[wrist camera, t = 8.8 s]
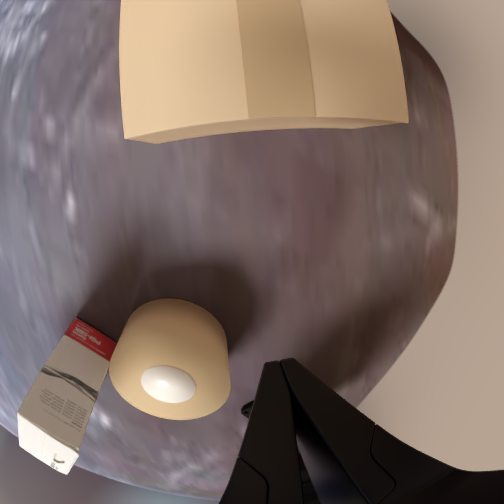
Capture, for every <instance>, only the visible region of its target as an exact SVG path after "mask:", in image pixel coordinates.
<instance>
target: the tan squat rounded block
mask: <svg viewBox="0 0 504 504" xmlns="http://www.w3.org/2000/svg"><path fill="white" fill-rule="evenodd" d="M109 374H110V378H111V381H112V383H113V385H114V387H115V388H116V390H117V391H118V393H119V394H120V395H121V396H122V397H123V398H124V399H125V400H126V401H128V402H129V403H130V404H131V405H133V406H134V407H136V408H138V409H140V410H142V411H144V412H146V413H148V414H151V415H154V416H157V417H161V418H166V419H174V420H188V419H195V418H200V417H203V416H206V415H208V414H211V413H213V412H214V411H216V410H217V409H219V408H220V407H221V406H222V405H223V404H224V403H225V401H226V400H227V398H228V396H229V393H230V388H231V384H230V372H229V361H228V349H227V338H226V334H225V332H224V329H223V327H222V326H221V324H220V323H219V321H218V320H217V319H216V318H215V317H214V316H213V315H212V314H211V313H210V312H208V311H207V310H205V309H204V308H202V307H200V306H198V305H196V304H194V303H191V302H188V301H185V300H180V299H170V298H167V299H157V300H153V301H150V302H147V303H145V304H143V305H141V306H140V307H138V308H137V309H136V310H135V311H134V312H133V313H132V314H131V315H130V317H129V319H128V321H127V323H126V325H125V327H124V329H123V332H122V334H121V336H120V338H119V341H118V343H117V345H116V348H115V350H114V352H113V355H112V357H111V359H110V363H109Z"/></svg>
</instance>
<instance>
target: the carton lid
mask: <svg viewBox="0 0 504 504" xmlns="http://www.w3.org/2000/svg"><path fill="white" fill-rule="evenodd" d="M119 59H120V89H121V105H122V117H123V127H124V137H125V139H132V138H136V137H141V136H145V135H150V134H155V133H160V132H165V131H171V130H176V129H182V128H188V127H195V126H202V125H209V124H217V123H226V122H236V121H247V120H261V119H280V118H344V119H363V120H376V121H387V122H396V123H409V120H408V108H407V98H406V89H405V82H404V75H403V68H402V62H401V57H400V51H399V46H398V42H397V37H396V33H395V28H394V24H393V20H392V17H391V13H390V9H389V6H388V3H387V0H121V13H120V41H119Z"/></svg>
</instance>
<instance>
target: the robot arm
mask: <svg viewBox="0 0 504 504" xmlns="http://www.w3.org/2000/svg"><path fill="white" fill-rule="evenodd" d="M241 413H242V414H243V415H244V416H246V417H247V418H249V420H248V424H247V427H246V430H245V434H244V437H243V441H242V444H241V447H240V450H239V454H238V458H237V459H236V463H235V466H234V469H233V472H232V474H231V477H230V480H229V482H228V485H227V487H226V489H225V492H224V494H223V496H222V498H221V500H220V502H219V504H504V470H497V471H496V470H495V471H478V472H477V471H475V472H474V471H466V470H461V469H457V468H454V467H452V466H450V465H447V464H445V463H443V462H441V461H439V460H437V459H435V458H432V457H430V456H428V455H426V454H424V453H422V452H420V451H418V450H416V449H414V448H413V447H411V446H409V445H407V444H406V443H404V442H402V441H400V440H399V439H397V438H396V437H394V436H393V435H391V434H390V433H388V432H387V431H385V430H384V429H383V428H382V427H380V426H379V425H375V422H373V421H372V420H371V419H369V418H368V417H367V416H365V415H364V414H363V413H361V412H360V411H359V410H357V409H356V408H355V407H354V406H352V405H351V404H350V403H348V402H347V401H346V400H345V399H343V398H342V397H341V396H340V395H338V394H337V393H336V392H335V391H333V390H332V389H331V388H330V387H328V386H327V385H326V384H325V383H323V382H322V381H321V380H320V379H318V378H317V377H316V376H315V375H314V374H312V373H311V372H310V371H309V370H308V369H306V368H305V367H304V366H303V365H302V364H300V363H299V362H298V361H297V360H296V359H294V358H288V359H282V360H280V361H271V362H266V363H265V364H264V366H263V370H262V374H261V378H260V381H259V385H258V389H257V392H256V396H255V399H254V403H252V404H250V405H248V406H246V407H244V408H242V409H241Z"/></svg>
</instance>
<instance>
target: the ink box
mask: <svg viewBox="0 0 504 504" xmlns="http://www.w3.org/2000/svg"><path fill="white" fill-rule="evenodd" d="M116 345H117V343H116V342H115V341H113V340H112V339H110V338H108V337H107V336H105V335H104V334H102V333H100V332H99V331H97V330H96V329H94V328H93V327H91V326H89V325H88V324H86V323H84V322H83V321H81V320H80V319H78V318H75V319H74V321H73V322H72V324H71V325H70V326H69V328H68V329H67V331H66V332H65V334H64V335H63V337H62V338H61V340H60V341H59V343H58V345H57V346H56V348H55V349H54V351H53V352H52V354H51V355H50V357H49V359H48V360H47V362H46V363H45V365H44V367H43V368H42V370H41V372H40V373H39V375H38V377H37V378H36V380H35V382H34V383H33V385H32V387H31V388H30V390H29V392H28V394H27V395H26V397H25V399H24V401H23V403H22V405H21V407H20V408H19V410H18V412H17V417H18V434H19V445H20V447H22V448H23V449H25V450H26V451H28V452H29V453H31V454H32V455H33V456H35V457H36V458H38V459H39V460H41V461H43V462H44V463H46V464H47V465H49V466H51V467H52V468H54V469H56V470H58V471H59V472H61V473H63V474H68V472H69V471H70V469H71V467H72V466H73V464H74V462H75V461H76V460H77V458H78V457H79V453H78V452H79V450H80V446H81V442H82V440H83V436H84V433H85V430H86V427H87V424H88V421H89V418H90V415H91V413H92V410H93V407H94V404H95V401H96V399H97V396H98V393H99V391H100V388H101V386H102V383H103V380H104V378H105V375H106V373H107V370H108V368H109V363H110V359H111V357H112V355H113V352H114V350H115V348H116Z"/></svg>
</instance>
